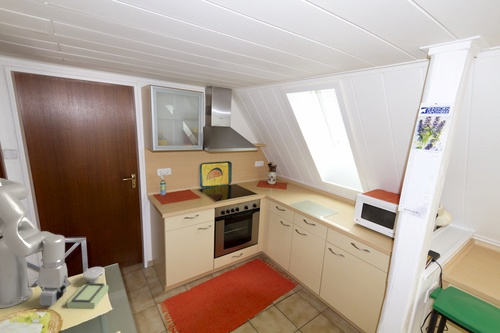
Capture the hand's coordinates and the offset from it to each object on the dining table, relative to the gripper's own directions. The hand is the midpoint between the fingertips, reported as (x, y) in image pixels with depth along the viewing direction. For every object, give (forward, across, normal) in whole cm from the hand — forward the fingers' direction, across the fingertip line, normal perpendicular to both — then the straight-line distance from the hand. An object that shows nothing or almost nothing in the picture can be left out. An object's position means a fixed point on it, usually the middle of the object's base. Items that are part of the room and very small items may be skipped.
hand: (53, 296), depth 105 cm
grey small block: (+1, 0, 0) cm, 1 cm away
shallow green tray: (+2, +14, +3) cm, 15 cm away
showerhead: (+3, +9, +15) cm, 18 cm away
